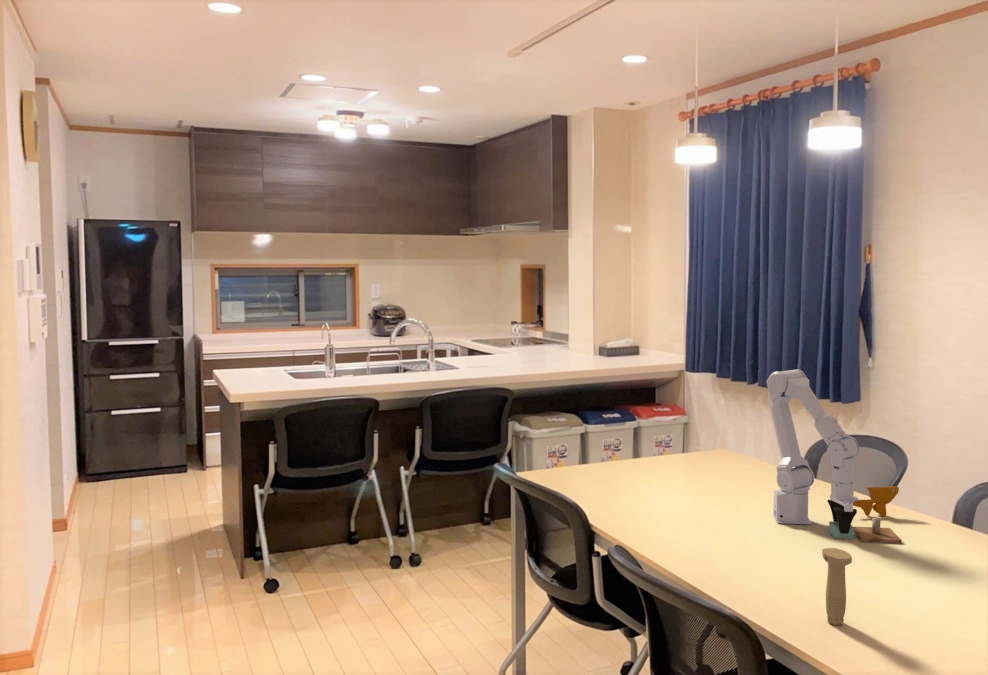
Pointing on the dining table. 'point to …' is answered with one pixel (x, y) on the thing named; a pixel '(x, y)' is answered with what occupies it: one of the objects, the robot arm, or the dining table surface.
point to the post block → (876, 533)
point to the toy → (877, 499)
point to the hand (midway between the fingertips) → (841, 529)
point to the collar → (836, 533)
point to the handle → (836, 584)
